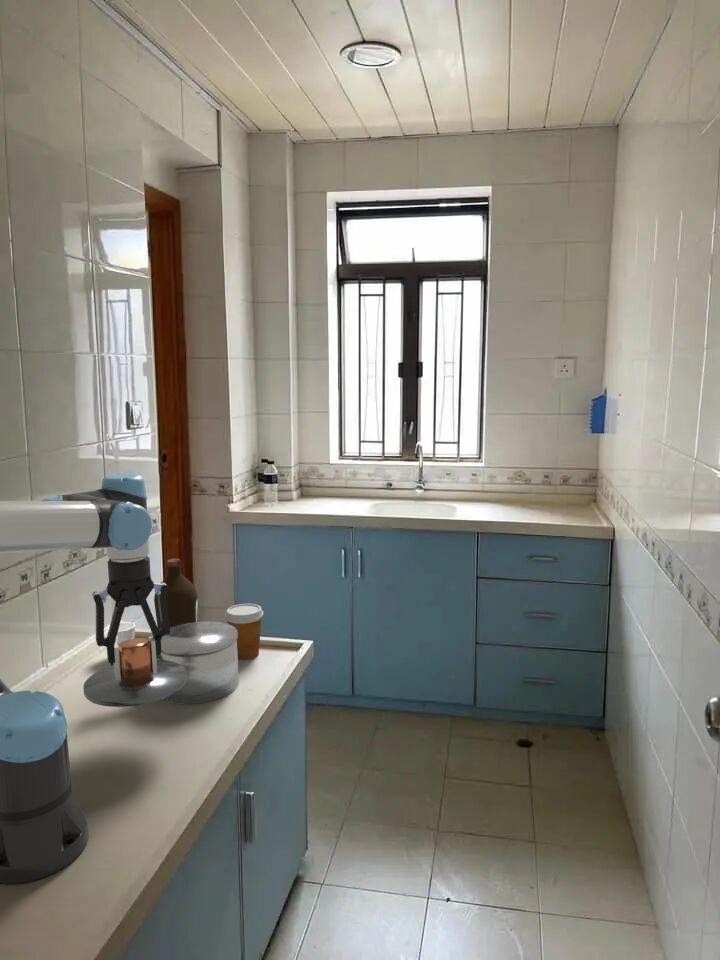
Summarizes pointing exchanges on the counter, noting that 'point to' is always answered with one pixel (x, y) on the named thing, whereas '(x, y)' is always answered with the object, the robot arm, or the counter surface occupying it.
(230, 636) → the cooker body
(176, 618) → the olive oil
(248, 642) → the disposable coffee cup
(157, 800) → the counter surface
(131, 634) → the cup
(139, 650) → the cooker lid
